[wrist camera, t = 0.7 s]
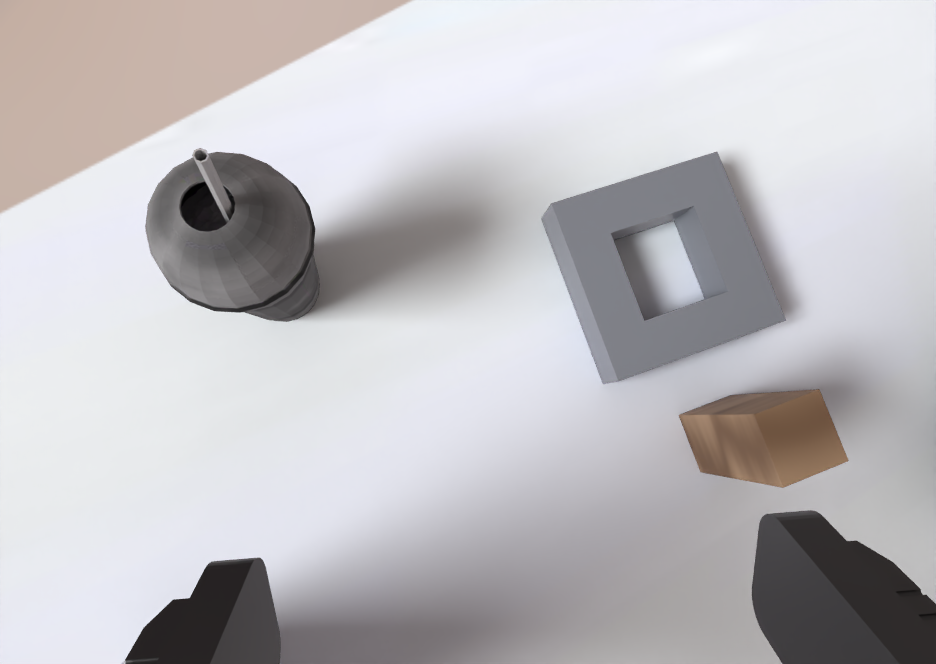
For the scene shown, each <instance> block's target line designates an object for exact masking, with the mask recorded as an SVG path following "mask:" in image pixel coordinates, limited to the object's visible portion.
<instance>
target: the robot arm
mask: <svg viewBox="0 0 936 664" xmlns="http://www.w3.org/2000/svg"><path fill="white" fill-rule="evenodd" d="M752 601H753V607H754V611H755V615H756V618H757V621H758V623H759V626H760V628H761V630H762V632H763V633H764V635H765V637H766V638H767V640H768V641H769V643H770V645H771V646H772V648H773V649H774V651H775V652H776V654H777V656H778V657H779V659H780V660H781V662H782V664H936V604H935V603H934V602H933V601H932V600H931V599H930V598H929V597H928V596H927V595H922V593H921V589H920V588H919V587H918V586H917V585H916V584H915V583H914V582H913V581H912V580H911V579H910V578H908V577H907V576H906V575H905V574H904V573H903V572H902V571H901V570H900V569H899V568H898V567H897V566H896V565H895V564H894V563H893V562H892V561H890V560H888V559H887V558H885V557H883V556H881V555H880V554H878V553H876V552H875V551H873V550H871V549H870V548H868V547H866V546H865V545H863V544H861V543H860V542H858V541H846V540H845V539H844V538H843V537H842V536H841V535H840V534H839V533H838V532H837V531H836V529H835V528H834V527H833V526H832V525H831V524H830V523H829V522H828V521H827V520H826V519H825V518H824V517H823V516H822V515H821V514H819V513H818V512H816V511H799V512H786V513H774V514H766V515H764V516H763V517H762V519H761V521H760V524H759V531H758V540H757V549H756V558H755V566H754V575H753V584H752ZM280 649H281V644H280V633H279V627H278V623H277V618H276V613H275V609H274V604H273V599H272V595H271V590H270V585H269V581H268V576H267V571H266V567H265V564H264V562H263V560H262V559H261V558H249V559H237V560H225V561H213V562H211V563H209V564H208V565H207V566H206V568H205V570H204V572H203V574H202V575H201V577H200V579H199V581H198V583H197V585H196V587H195V589H194V591H193V593H192V595H191V597H190V598H188V599H176V600H172V601H171V602H170V603H169V604H168V605H167V606H166V607H165V608H164V609H163V610H162V611H161V612H160V613H159V614H158V615H157V616H156V617H155V618H154V619H153V620H151V621H150V622H149V623H148V624H147V625H146V626H145V627H144V628H143V630H142V632H141V634H140V635H139V637H138V639H137V640H136V642H135V644H134V646H133V647H132V649H131V651H130V653H129V654H128V656H127V658H126V659H125V661H124V662H123V663H122V664H279V663H280Z"/></svg>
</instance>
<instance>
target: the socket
mask: <svg viewBox="0 0 936 664" xmlns="http://www.w3.org/2000/svg"><path fill="white" fill-rule="evenodd" d="M541 219H542V222H543V225H544V227H545V230H546V233H547V235H548V238H549V241H550V243H551V246H552V249H553V251H554V254H555V257H556V259H557V262H558V265H559V267H560V270H561V273H562V275H563V278H564V281H565V283H566V286H567V289H568V292H569V294H570V297H571V300H572V302H573V305H574V308H575V310H576V313H577V316H578V318H579V321H580V324H581V326H582V329H583V332H584V334H585V337H586V340H587V342H588V345H589V348H590V350H591V353H592V356H593V358H594V361H595V364H596V367H597V369H598V372H599V375H600V377H601V380H602V383H603V384H605V383H611V382H617V381H621V380H623V379H626V378H629V377H632V376H634V375H637V374H640V373H643V372H645V371H648V370H651V369H654V368H656V367H659V366H662V365H665V364H667V363H670V362H673V361H676V360H678V359H681V358H684V357H687V356H689V355H692V354H695V353H698V352H700V351H703V350H706V349H709V348H711V347H714V346H717V345H720V344H722V343H725V342H728V341H731V340H733V339H736V338H739V337H742V336H744V335H747V334H750V333H753V332H755V331H758V330H761V329H764V328H766V327H769V326H772V325H775V324H777V323H780V322H783V321H786V319H785V316H784V314H783V312H782V309H781V307H780V304H779V302H778V299H777V297H776V294H775V292H774V290H773V287H772V285H771V282H770V280H769V277H768V275H767V272H766V270H765V268H764V265H763V263H762V260H761V258H760V255H759V253H758V250H757V248H756V245H755V243H754V241H753V238H752V236H751V233H750V231H749V228H748V226H747V223H746V221H745V219H744V216H743V214H742V211H741V209H740V206H739V204H738V201H737V199H736V197H735V194H734V192H733V189H732V187H731V184H730V182H729V179H728V177H727V175H726V172H725V170H724V167H723V165H722V162H721V160H720V157H719V155H718V152H714V153H711V154H708V155H705V156H702V157H698V158H695V159H692V160H689V161H686V162H682V163H679V164H676V165H673V166H670V167H666V168H663V169H660V170H657V171H654V172H650V173H647V174H644V175H641V176H638V177H634V178H631V179H628V180H625V181H622V182H619V183H615V184H612V185H609V186H606V187H603V188H599V189H596V190H593V191H590V192H587V193H583V194H580V195H577V196H574V197H571V198H567V199H564V200H561V201H558V202H555V203H552V204H551V205H550V206H549V208H548V209H547V211H546V212H545V214H544V215H543V217H542V218H541ZM671 221H674V222H675V225H676V227H677V230H678V232H679V235H680V237H681V240H682V242H683V245H684V247H685V250H686V252H687V255H688V257H689V260H690V262H691V265H692V267H693V270H694V273H695V275H696V278H697V280H698V283H699V285H700V288H701V290H702V293H703V295H704V298H705V300H702V301H699V302H696V303H694V304H691V305H688V306H685V307H682V308H679V309H676V310H674V311H671V312H668V313H665V314H662V315H659V316H656V317H654V318H651V319H648V320H645V321H644V318H643V316H642V313H641V310H640V308H639V305H638V303H637V300H636V297H635V295H634V292H633V290H632V287H631V284H630V282H629V279H628V277H627V274H626V271H625V269H624V266H623V264H622V261H621V258H620V256H619V253H618V251H617V248H616V245H615V243H614V240H616V239H619V238H622V237H625V236H628V235H631V234H634V233H637V232H640V231H644V230H647V229H650V228H653V227H656V226H659V225H662V224H665V223H668V222H671Z"/></svg>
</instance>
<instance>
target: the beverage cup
mask: <svg viewBox="0 0 936 664" xmlns="http://www.w3.org/2000/svg"><path fill="white" fill-rule="evenodd" d="M192 156H193V158H191V159H189V160H187V161H186V162H184V163H182V164H180V165H178V166H176V167H175V168H173V169H172V170H171V171H170V172H169V173H168V174H167V175H166V177H165V178H164V179H163V180H162V181H161V182H160V183H159V184H158V185H157V187H156V189H155V191H154V193H153V195H152V198H151V200H150V202H149V204H148V210H147V218H146V226H145V227H146V234H147V239H148V243H149V248H150V252H151V255H152V256H153V258H154V260H155V261H156V263H157V265H158V266H159V268H160V270H161V271H162V273H163V274H164V276H165V277H166V279H167V281H168V282H169V284H170V285H171V287H173V288H174V289H175V290H176V291H178V292H179V293H180V294H181V295H183V296H184V297H185V298H186V299H187V300H189V301H190V302H192V303H195V304H197V305H200V306H202V307H205V308H208V309H210V310H213V311H222V312H245V313H248V314H252V315H255V316H258V317H261V318H264V319H267V320H274V321H286V322H287V321H291V320H295V319H298V318H300V317H301V316H303V315H305V314H306V313H308V311H309V310H310V309H311V308H312V307H313V306H314V304H315V302H316V300H317V297H318V295H319V276H318V272H317V268H316V264H315V259H314V255H313V250H314V238H315V226H314V222H313V218H312V214H311V210H310V207H309V205H308V203H307V202H306V200H305V199H304V197H303V196H302V194H301V193H300V191H299V189H298V188H297V186H295V185H294V184H293V183H292V182H290V181H289V180H288V179H287V178H285V177H284V176H283V175H282V174H280V173H279V172H278V171H276V170H275V169H273V168H272V167H271V166H270V165H268V164H267V163H264V162H262V161H259V160H256V159H254V158H251V157H249V156H246V155H243V154H235V153H223V152H215V153H210V154H208V153H207V151H206V150H204V149H201V148H199V149H196V150H194V153H193V155H192Z"/></svg>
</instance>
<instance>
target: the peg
mask: <svg viewBox="0 0 936 664" xmlns="http://www.w3.org/2000/svg"><path fill="white" fill-rule="evenodd" d="M679 417H680V420H681V422H682V425H683V427H684V430H685V433H686V435H687V438H688V441H689V443H690V446H691V448H692V451H693V454H694V456H695V459H696V461H697V464H698V467H699V469H700V472H703V473H708V474H713V475H719V476H724V477H729V478H735V479H740V480H745V481H751V482H756V483H761V484H767V485H772V486H777V487H786V486H788V485H791V484H793V483H796V482H798V481H801V480H803V479H805V478H808V477H810V476H813V475H815V474H818V473H820V472H823V471H825V470H828V469H830V468H832V467H835V466H837V465H840V464H842V463H845V462H847V461H848V458H847V456H846V453H845V451H844V448H843V446H842V444H841V441H840V439H839V436H838V434H837V431H836V429H835V426H834V424H833V422H832V419H831V417H830V414H829V412H828V409H827V407H826V404H825V402H824V400H823V397H822V395H821V392H820V390H819V389H816V390H801V391H787V392H772V393H757V394H742V395H730V396H728V397H725V398H722V399H720V400H717V401H714V402H712V403H709V404H706V405H704V406H701V407H698V408H696V409H693V410H690V411H688V412H685V413H683V414H680V415H679Z"/></svg>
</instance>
